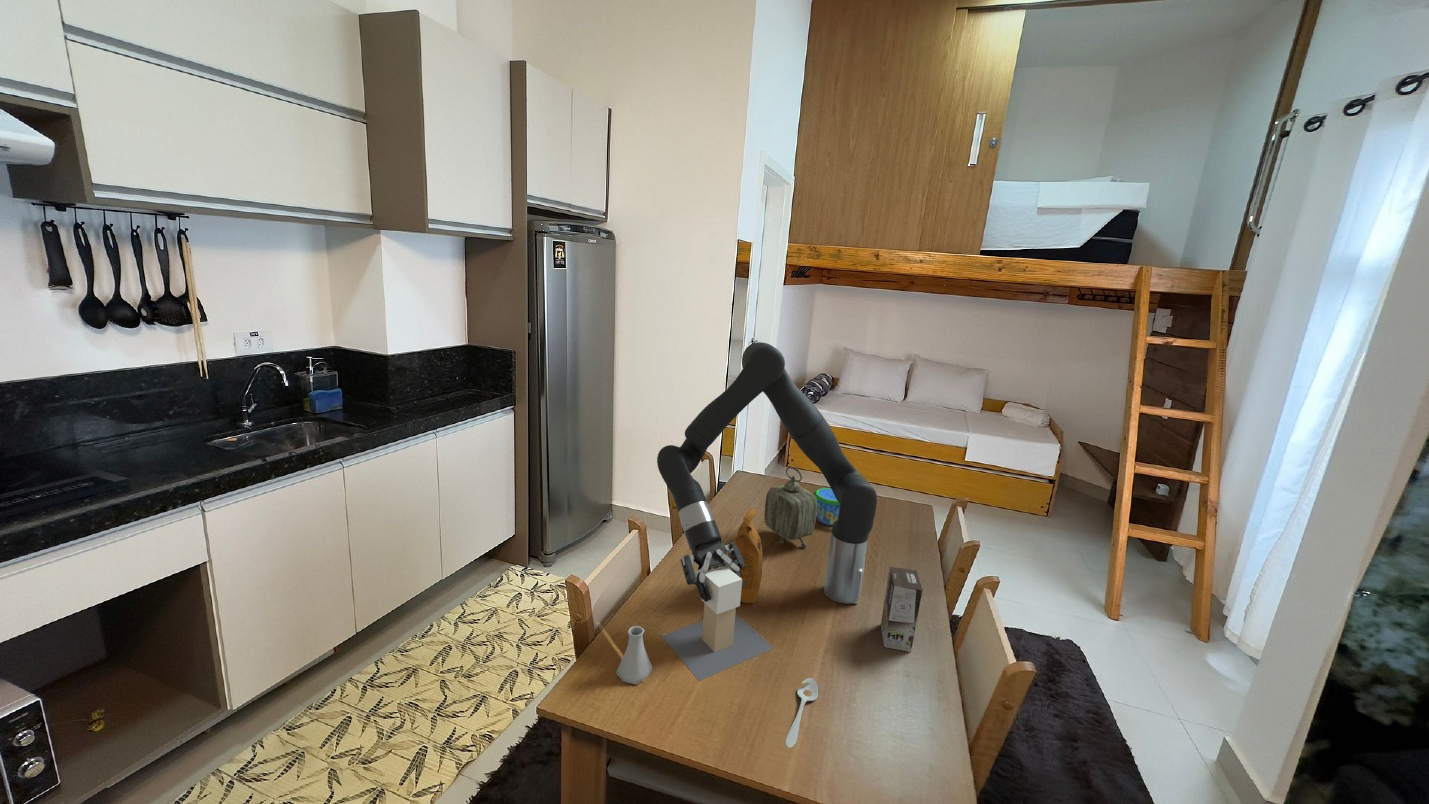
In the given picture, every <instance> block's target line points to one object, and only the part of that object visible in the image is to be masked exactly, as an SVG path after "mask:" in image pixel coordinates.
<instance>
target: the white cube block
mask: <svg viewBox="0 0 1429 804" xmlns="http://www.w3.org/2000/svg"><path fill="white" fill-rule="evenodd" d="M704 582H706V584H707V587H708V590H709V593H710V596H711V600H709V601H707V602H705V601H704V600H702V599H701V598H700V600H701V601H702V602H703V603H705V604H706V605H707V606H708V607H709V608H711V609H712V610H713V611H714V612H715V613H716V614H719V613H722V612H725V611H728V610H730V609H733V608H736V609H737V608H739V607H741V602H740V599H741V588H742V579H741V578H740V577H739V576H737V575H736V574H735V573H734V572H733V571H731V570H730V569H729V568H728V567H726V566H724V567H719V568H716V569H711V570H709V571H707V573H706V576H705V580H704Z"/></svg>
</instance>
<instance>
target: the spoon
mask: <svg viewBox="0 0 1429 804" xmlns="http://www.w3.org/2000/svg"><path fill="white" fill-rule="evenodd" d="M805 683H808V684H805ZM800 684H801V685H802V684H805V685H803V686H801V687H799V688H798V689H797V690H796V694H797V696H798V697H799V698H800V699H801V701H800V705H799V708H798V710H797V713H796V716H795V718H794V719H793V720H794V721H792V724H791V726H790V728H789V731H788V734H787V735H786V738H785V744H786V747H788V748H793V747H794V746H795V745H796V743H797V740H798V736H799V731H800V725H801V717H802V715H803V709H804V707H805V704H806V703H807V702H814V701H816V700H817V698H818V695H819V688H818V684H817V681H816V680H815V679H814V678H813V677H807V678H805V679H804V680H803V681H802V682H801V683H800ZM805 691H809V692H812V693H811V695H810V696H807V695H805V694H804V692H805ZM794 744H795V745H794Z"/></svg>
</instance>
